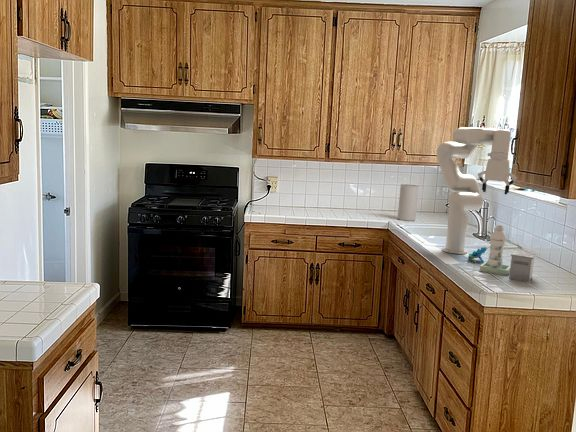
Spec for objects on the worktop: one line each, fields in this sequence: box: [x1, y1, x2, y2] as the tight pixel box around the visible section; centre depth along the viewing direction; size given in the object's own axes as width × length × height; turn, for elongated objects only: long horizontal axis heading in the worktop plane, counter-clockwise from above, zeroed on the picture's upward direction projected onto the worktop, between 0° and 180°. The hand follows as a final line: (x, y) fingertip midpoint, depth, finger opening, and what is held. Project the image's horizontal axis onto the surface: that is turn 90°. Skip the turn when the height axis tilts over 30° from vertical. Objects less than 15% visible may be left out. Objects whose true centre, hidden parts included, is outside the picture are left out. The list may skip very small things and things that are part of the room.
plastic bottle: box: [486, 225, 506, 269], centre depth 252 cm, size 6×7×20 cm
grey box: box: [508, 250, 537, 283], centre depth 242 cm, size 11×9×11 cm
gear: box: [467, 246, 487, 264], centre depth 271 cm, size 11×6×10 cm
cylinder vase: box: [397, 183, 420, 222], centre depth 399 cm, size 12×12×25 cm
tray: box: [479, 261, 511, 276], centre depth 253 cm, size 12×12×2 cm
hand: (494, 193), depth 261 cm, fingers open, 9 cm apart
